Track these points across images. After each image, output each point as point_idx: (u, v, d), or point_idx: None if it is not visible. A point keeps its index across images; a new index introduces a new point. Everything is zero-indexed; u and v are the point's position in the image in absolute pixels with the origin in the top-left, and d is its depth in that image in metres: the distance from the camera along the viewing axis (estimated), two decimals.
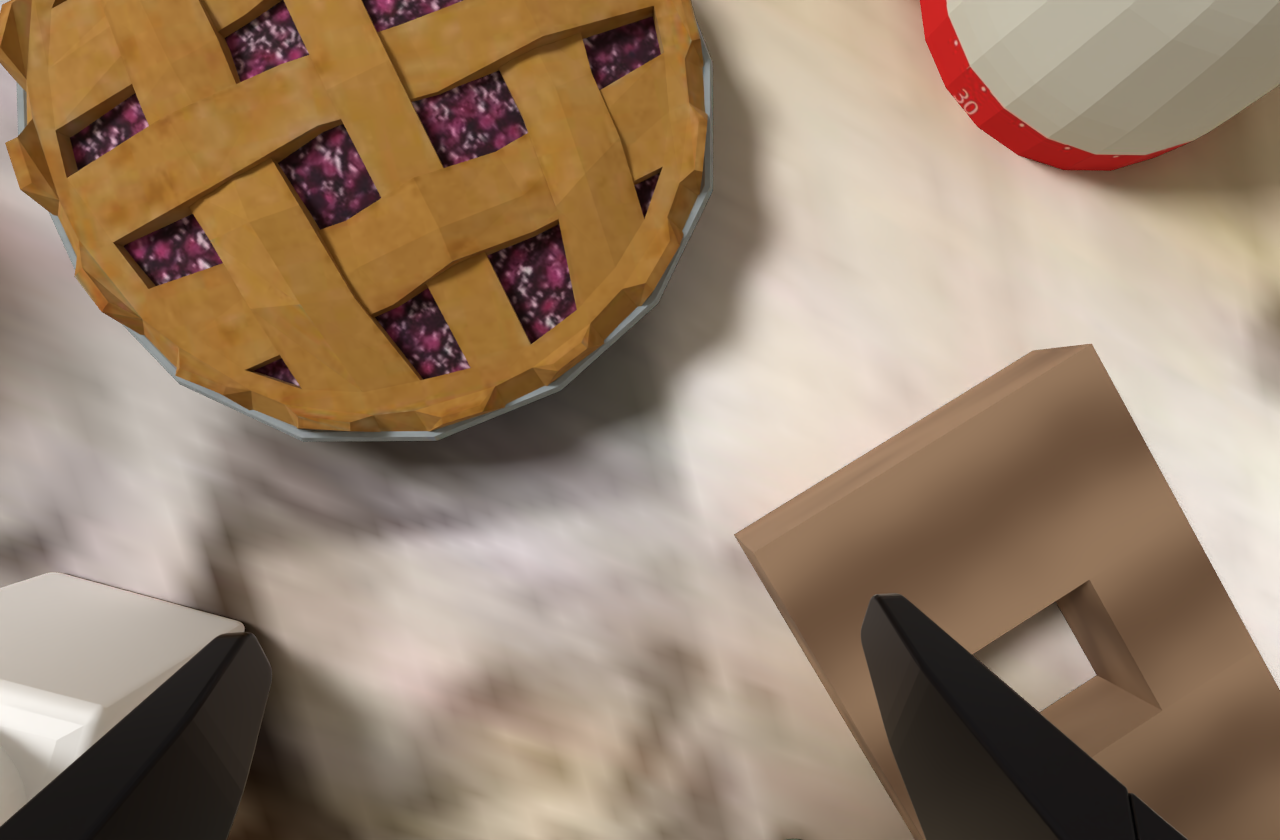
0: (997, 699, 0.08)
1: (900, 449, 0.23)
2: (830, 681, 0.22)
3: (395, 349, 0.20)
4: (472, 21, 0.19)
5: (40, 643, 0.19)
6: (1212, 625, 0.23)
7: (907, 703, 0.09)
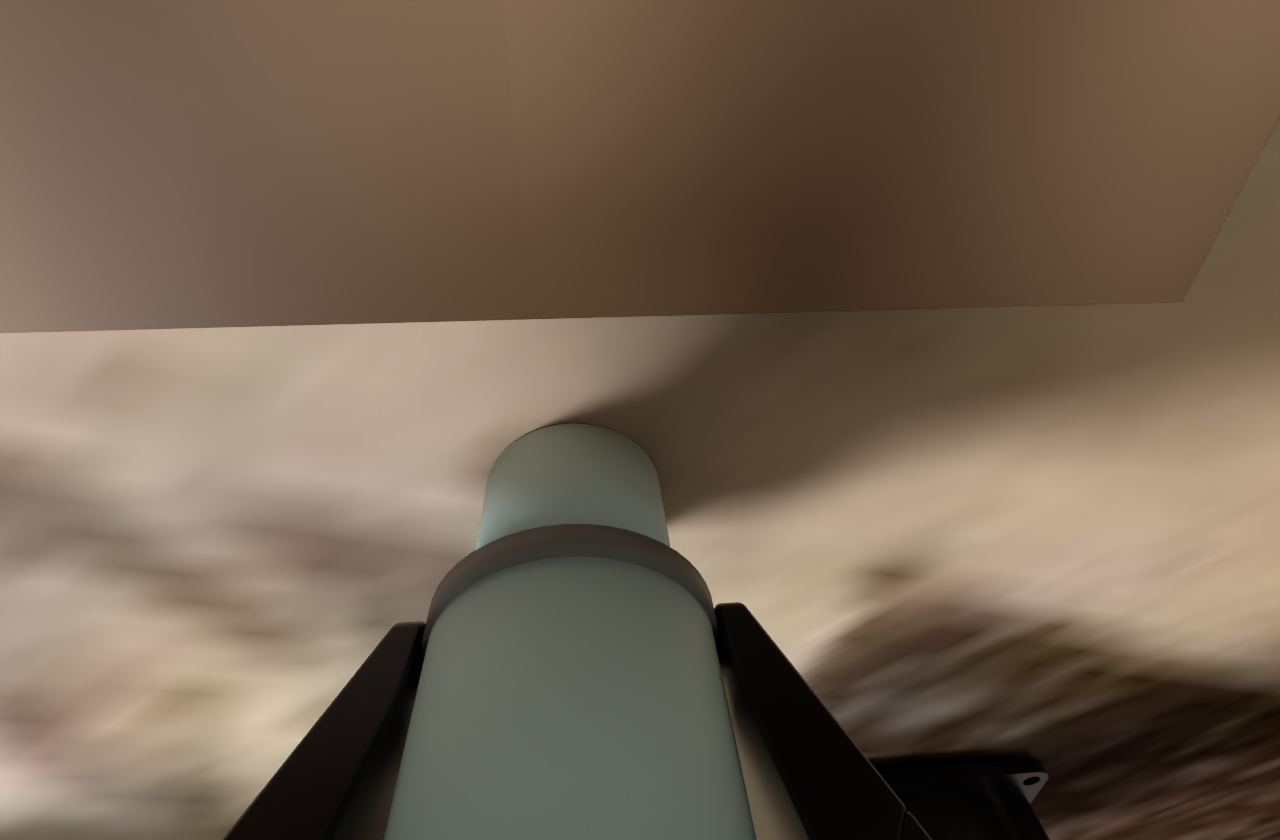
0: (803, 713, 0.07)
1: None
2: None
3: None
4: None
5: None
6: None
7: (732, 716, 0.08)
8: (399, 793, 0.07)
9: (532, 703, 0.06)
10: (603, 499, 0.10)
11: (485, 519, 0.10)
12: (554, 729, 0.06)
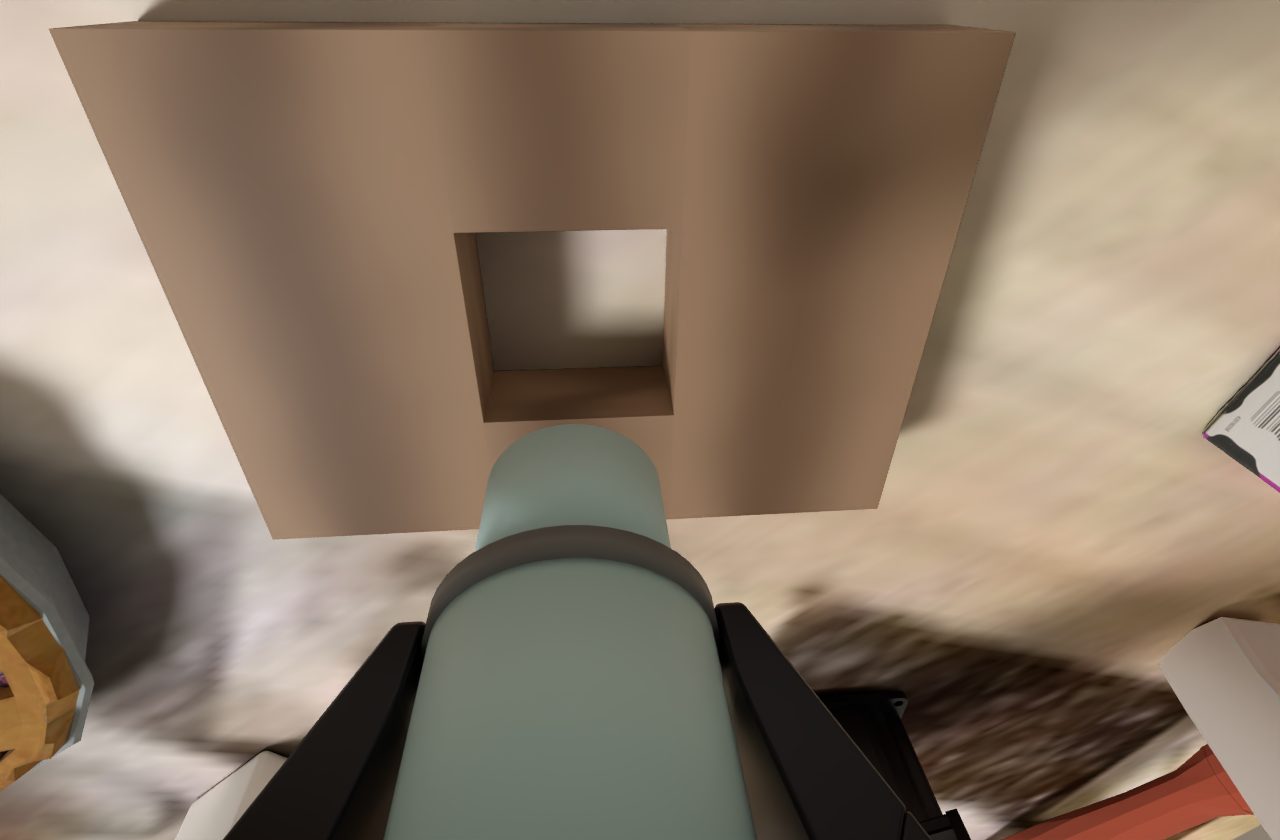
0: (804, 713, 0.07)
1: None
2: (441, 529, 0.21)
3: None
4: None
5: None
6: (613, 87, 0.14)
7: (733, 716, 0.08)
8: (398, 796, 0.06)
9: (532, 706, 0.06)
10: (604, 499, 0.10)
11: (485, 520, 0.10)
12: (555, 730, 0.06)
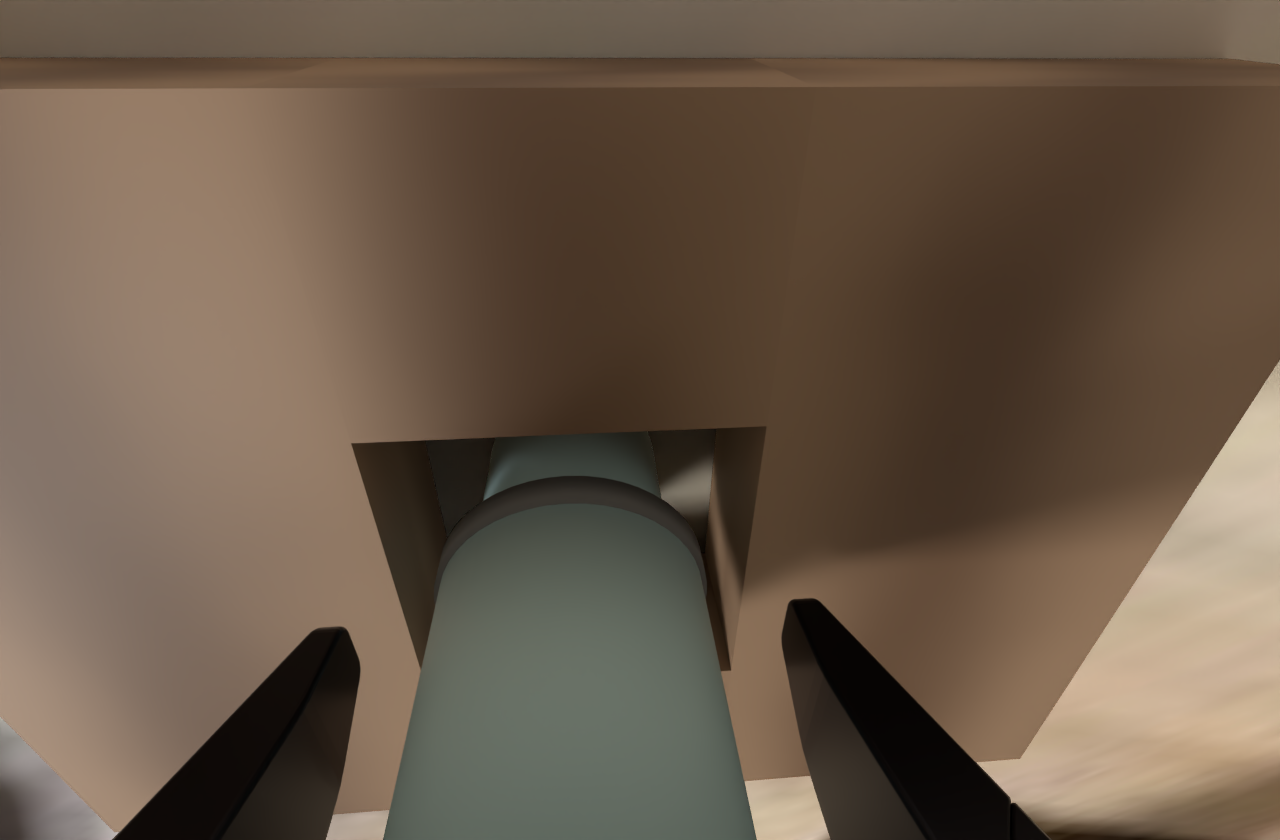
0: (895, 706, 0.08)
1: None
2: (373, 808, 0.14)
3: None
4: None
5: None
6: (651, 195, 0.07)
7: (815, 710, 0.08)
8: (418, 704, 0.07)
9: (537, 622, 0.07)
10: (600, 458, 0.10)
11: (491, 479, 0.11)
12: (557, 641, 0.07)
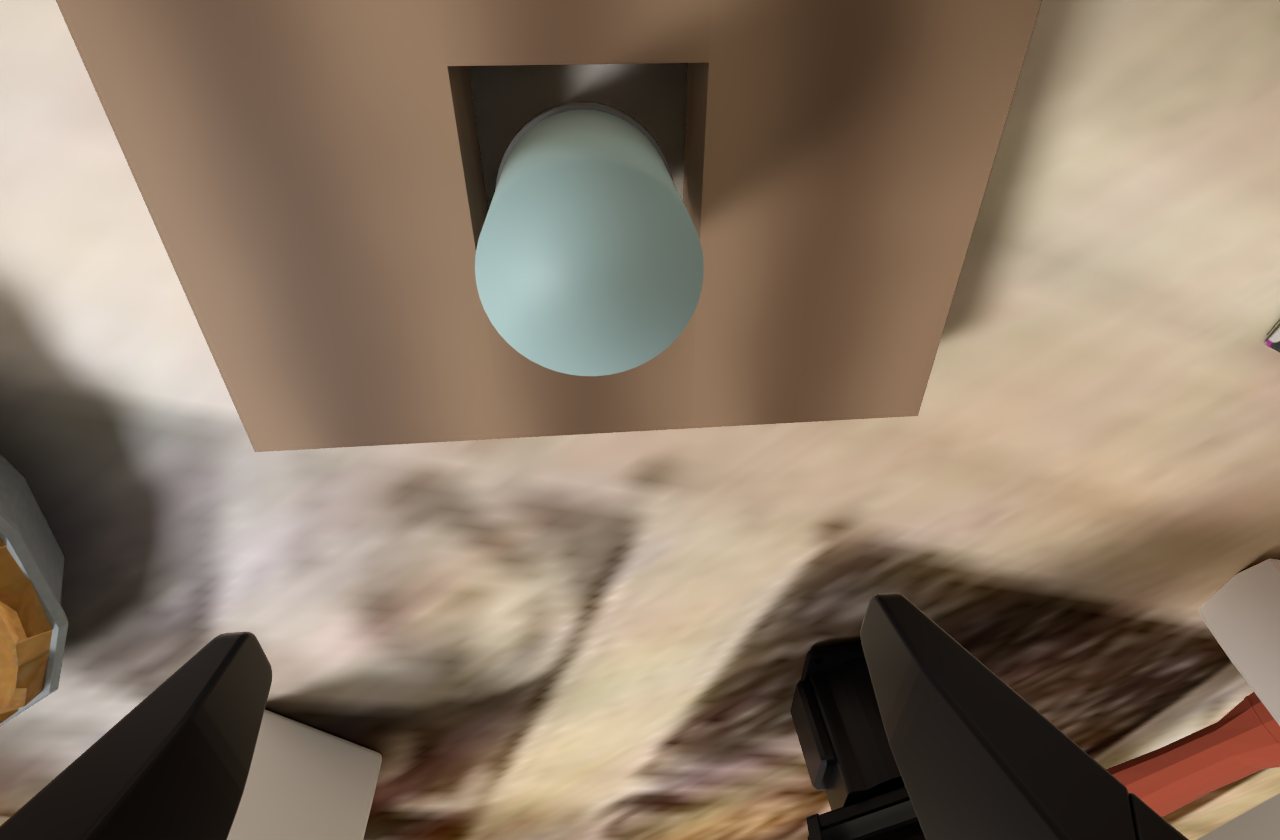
0: (997, 699, 0.08)
1: None
2: (440, 439, 0.19)
3: None
4: None
5: None
6: None
7: (907, 703, 0.09)
8: (497, 185, 0.12)
9: (567, 128, 0.12)
10: None
11: None
12: (579, 130, 0.12)
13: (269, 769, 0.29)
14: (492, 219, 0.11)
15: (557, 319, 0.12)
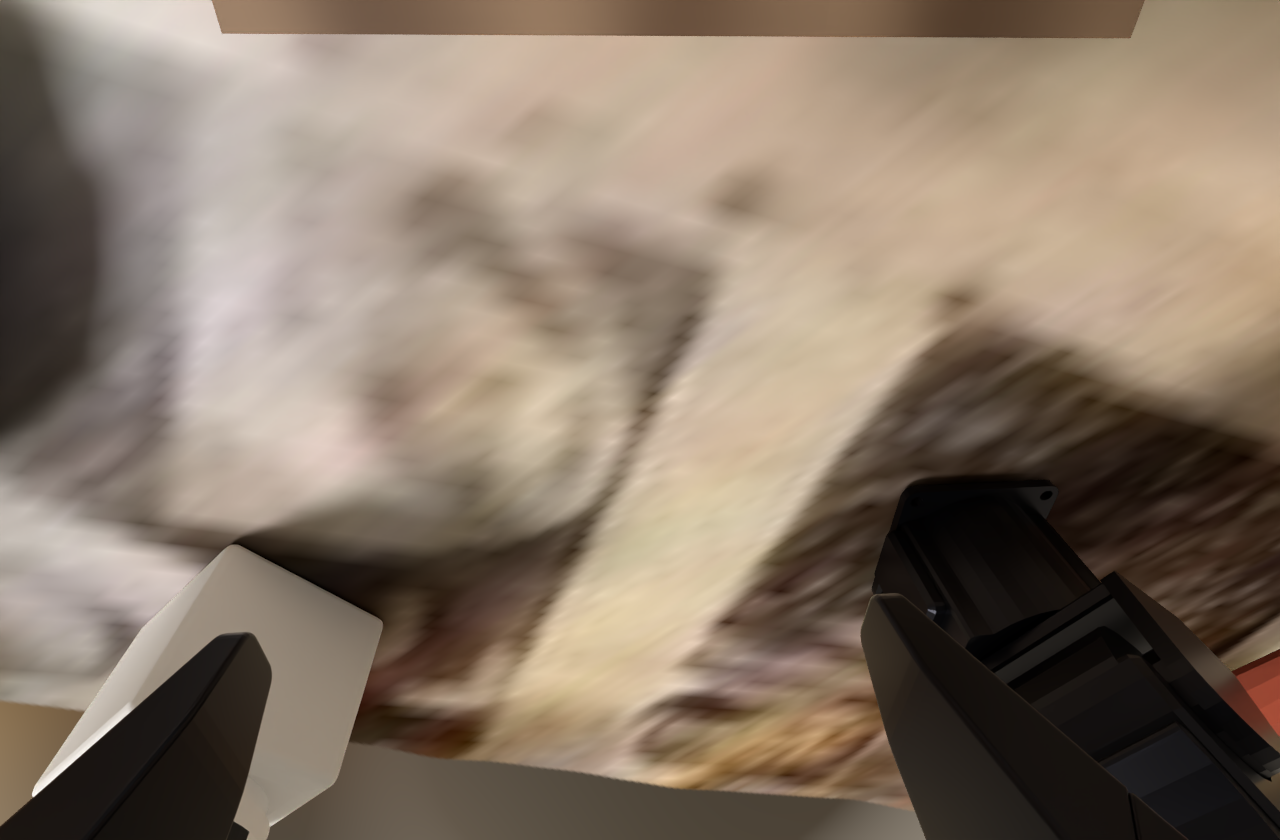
0: (997, 699, 0.08)
1: None
2: (481, 33, 0.14)
3: None
4: None
5: (116, 689, 0.22)
6: None
7: (907, 703, 0.09)
8: None
9: None
10: None
11: None
12: None
13: (244, 610, 0.23)
14: None
15: None
